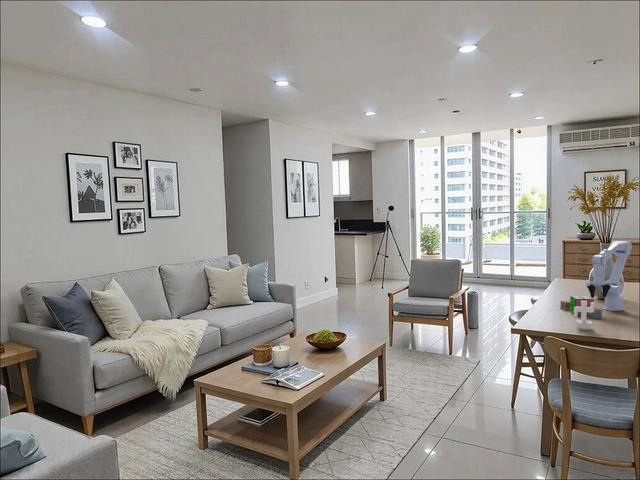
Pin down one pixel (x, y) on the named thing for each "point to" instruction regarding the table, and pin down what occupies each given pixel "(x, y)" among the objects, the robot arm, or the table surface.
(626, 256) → the robot arm
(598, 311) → the charcoal block
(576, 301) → the puzzle cube
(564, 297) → the table surface
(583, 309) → the figurine
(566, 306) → the walnut block
